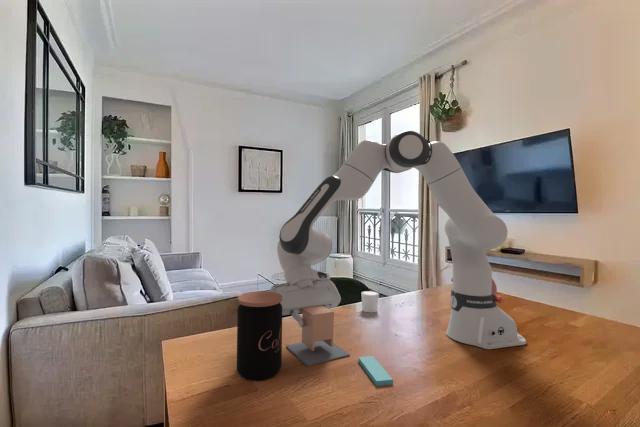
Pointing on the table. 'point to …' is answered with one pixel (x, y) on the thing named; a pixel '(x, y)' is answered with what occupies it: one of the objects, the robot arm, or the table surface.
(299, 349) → the pad
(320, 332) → the cover
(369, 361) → the stick
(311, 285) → the robot arm
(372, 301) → the white cylinder
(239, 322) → the coffee jar
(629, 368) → the table surface
